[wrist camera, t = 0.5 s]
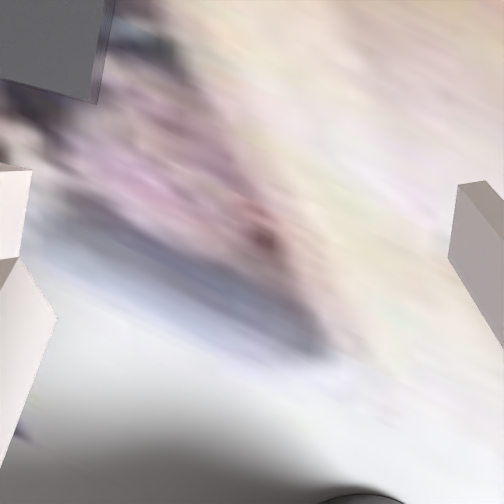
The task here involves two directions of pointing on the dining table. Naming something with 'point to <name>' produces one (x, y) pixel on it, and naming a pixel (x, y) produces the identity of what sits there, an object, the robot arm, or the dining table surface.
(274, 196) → the dining table surface
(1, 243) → the white-framed grey panel
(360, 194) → the dining table surface
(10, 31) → the dark grey plate
